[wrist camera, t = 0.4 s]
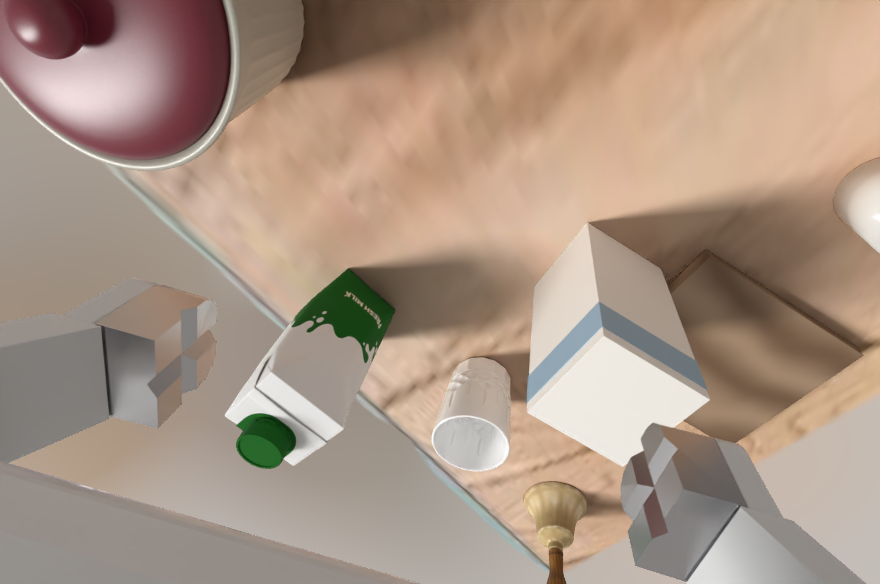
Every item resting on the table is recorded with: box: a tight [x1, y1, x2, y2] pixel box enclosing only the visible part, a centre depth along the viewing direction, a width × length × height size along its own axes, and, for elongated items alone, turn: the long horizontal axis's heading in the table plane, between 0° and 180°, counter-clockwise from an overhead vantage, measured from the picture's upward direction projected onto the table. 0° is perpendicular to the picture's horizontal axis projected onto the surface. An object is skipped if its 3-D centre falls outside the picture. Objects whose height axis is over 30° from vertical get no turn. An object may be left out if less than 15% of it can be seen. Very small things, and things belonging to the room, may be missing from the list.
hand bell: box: [524, 482, 587, 584], centre depth 62 cm, size 8×8×16 cm
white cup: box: [432, 357, 511, 471], centre depth 55 cm, size 8×8×10 cm
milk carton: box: [225, 269, 395, 469], centre depth 49 cm, size 9×9×20 cm
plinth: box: [668, 250, 864, 443], centre depth 51 cm, size 16×18×2 cm
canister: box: [0, 0, 305, 171], centre depth 35 cm, size 18×18×21 cm
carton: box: [526, 222, 710, 467], centre depth 43 cm, size 9×9×18 cm
